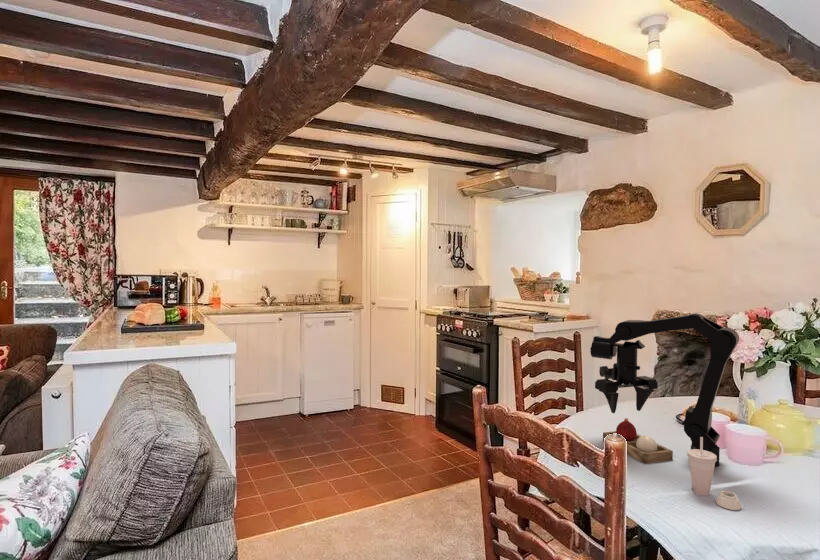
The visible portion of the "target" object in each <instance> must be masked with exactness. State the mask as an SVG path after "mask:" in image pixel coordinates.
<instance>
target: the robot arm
mask: <svg viewBox="0 0 820 560" xmlns="http://www.w3.org/2000/svg"><path fill="white" fill-rule="evenodd" d="M687 329H688V330H689V329H692V330H694V331H696V332H697V333H699V334H700V335H701V336H703V338H705V339H706V340H708V341H710V348H709V349H710V350H709V355H710V356H709V357H710V358H709V362H708V366H707V367H706V372H705V375H704V378H703V382H702V385H701V388H700V391H699V394H698V399H697V401H696V404H695V406H694V407H693V406H692V405H690V406H689V407H688V408H687V409H686V411H685V417H684V420H683V422H682V423H681V425H683V431H684V433H685V435H686V436H687V437H688V438H690V442H691V445H690V449H700V437H703V450H705V451H709V452H711V453H713V454H715V455H716V456H717V461H716V462H715V466H714V468H717V467H720V451H721V450H720V448H721V447H720V446H718V444H717V442H719V439H720V437H721V435H720V433H718V432H717V430H716V429H714V427H713V426H712V421H713V405H714V404H715V400H716V397H717V393H718V390H719V388H720V384H721V381H722V377H723V375H724V371H725V368H726V365H727V363H728V361H729V359H730V357H731V355H732V354H733V352H734V351H735V350H736V347H737V345H738V344H739V341H740V335H739V333H738V332H737V331H736V330H735V329H733V328H731V327H723V326H722V325H720V324H718V323H716V322H714V321H712V320H711V319H708V318H707V317H705V316H703V315H702V314H700V313H699V312H698V313H697V312H695V313H692V314H687V315H680V316H674V317H668V318H667V317H666V318H659V319H654V320H653V319H651V320H642V319H641V320H639V319H628V320H625V321H621V322H618V323H617V325H616V326H615V328H614V331H615V332H614V333H613V334H612V335H611V336H610V337H604V336H599V335H595V336H593V339H592V342H591V345H590V346H591V347H590V351H589V352H590V356H591V357H592V358H596V359H602V360H603V359H605V360H612V359H613V358H615V357H616V362H615V363H613V365H612V368H611V367H610V368H609V367H608V366H607V365H603V366H599V372H598V373H599V376H600V377H602V378H601V379H596V381H595V382H594V389H595V390H597V391H599V392H601V393H602V394H603V395H604V396H605V398H606V400H607V404H608V406H609V407H608V408H609V410H610V412H611V413H612V414H616V411H617V405H618V400H619V393H618V391H619V389H621V388H622V389H623V388H634V390H635V392H636V393H635V395H636V397H635V398H636V399H635V402H636V403H635V405H636V406H635V407H636V411H638V412H640V411H641V410H642V409H643V407H644V405H645V404H646V402H647V400H648V398H649V397H650V396H651V395H652V393H654V392H655V390H657V389H658V387H659V382H658V381H657V379H656V378H653V377H649V376H646V375H641V376H639V375H638V370H639V371H640V370H641V366H640V365H638V350H642V349H644V348H646V346H645V345H644V343H643V342H641V340H640V339H638V338H640V337H644V336H646V335H650V334H658V333H665V332H672V331H680V330H681V331H682V330H687ZM633 339H634V340H635V339H638V340H635V341H632V340H633ZM621 341H624V342H623V343H619V342H621ZM603 377H604V378H603Z"/></svg>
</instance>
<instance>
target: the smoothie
mask: <svg viewBox="0 0 820 560" xmlns="http://www.w3.org/2000/svg"><path fill="white" fill-rule="evenodd" d="M686 453H687V454H686V456H687V458H688V464H689V472H690V480H691V490H692V492H693V493H694V494H696V495H699V496H705V497H707V496H710V495H711V488H712V482H713V478H714V477H713V476H714V470H715V467H714V466H715V462H716V461H717V456H716V455H715V454H713V453H711V452H709V451H705V450H703V437H700V449H691V448H690V449H688V450H687V451H686Z"/></svg>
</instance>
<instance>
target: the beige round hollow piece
mask: <svg viewBox="0 0 820 560" xmlns="http://www.w3.org/2000/svg"><path fill="white" fill-rule="evenodd" d="M715 503H716V504H717V505H718V506H719V507H721V508H723V509H726V510H731V511H740V510H741V509H742V507H743V506H742V503H741V502H740V499H739V497H737V494H736V493H734V491H733V492H732V491H729V490H722V491H721V492H720V493H719V494H718V496H717V497H716V499H715Z"/></svg>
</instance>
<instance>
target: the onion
mask: <svg viewBox="0 0 820 560" xmlns="http://www.w3.org/2000/svg"><path fill="white" fill-rule="evenodd" d="M615 431H616V433H617V434H620V435H622V436H623V437H624V438H625V439H626V441H627V442H629V441H633V440H634V439H635V438H636V435H637V434H638V432H637V429H636V427H635V425H634V424H633V423H632V422H630V421H629V419H628V418H627V417H626V418H624V419H623V421H621V422H619V423H618V424H617V425H616V430H615Z"/></svg>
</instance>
